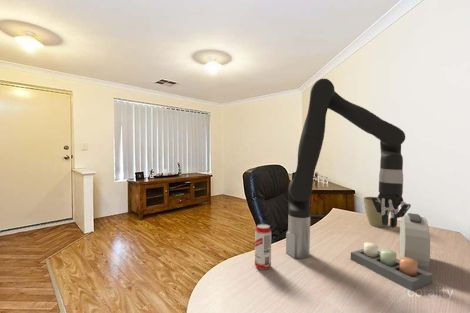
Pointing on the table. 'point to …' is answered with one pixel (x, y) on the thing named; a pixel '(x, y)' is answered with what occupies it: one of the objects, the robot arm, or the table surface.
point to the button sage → (388, 257)
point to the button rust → (408, 266)
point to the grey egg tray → (393, 271)
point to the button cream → (370, 250)
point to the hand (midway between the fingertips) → (389, 225)
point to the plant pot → (373, 212)
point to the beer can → (263, 246)
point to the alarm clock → (415, 239)
